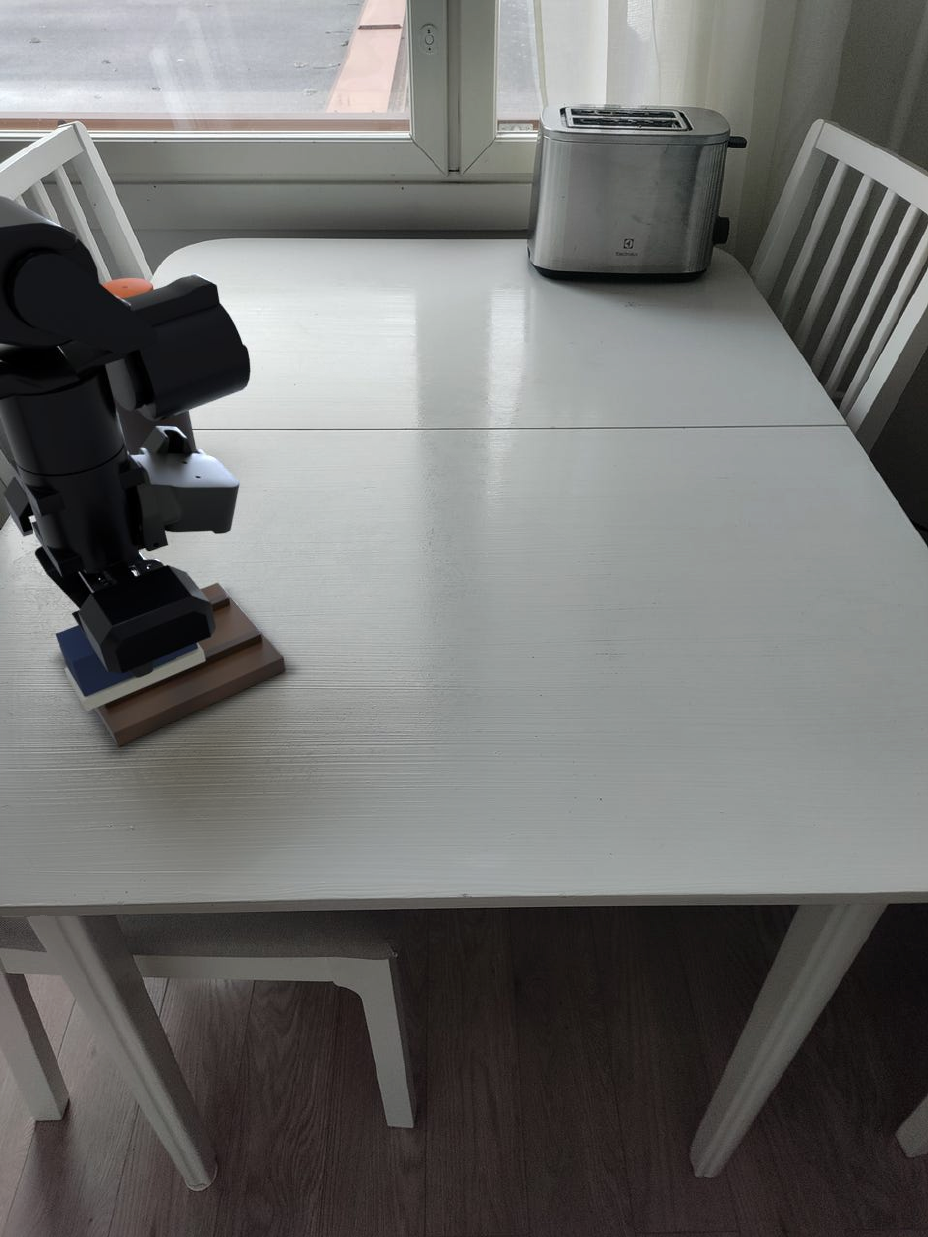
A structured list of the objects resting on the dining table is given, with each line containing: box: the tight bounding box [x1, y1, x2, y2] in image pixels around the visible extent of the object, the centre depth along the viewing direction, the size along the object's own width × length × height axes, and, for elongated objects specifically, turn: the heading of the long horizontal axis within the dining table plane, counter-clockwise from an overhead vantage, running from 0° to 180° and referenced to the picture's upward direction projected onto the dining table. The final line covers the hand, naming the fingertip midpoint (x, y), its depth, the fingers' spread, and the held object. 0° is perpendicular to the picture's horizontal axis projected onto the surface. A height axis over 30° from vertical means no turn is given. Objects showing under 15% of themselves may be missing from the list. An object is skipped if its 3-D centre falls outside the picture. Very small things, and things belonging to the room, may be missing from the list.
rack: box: [58, 581, 287, 747], centre depth 77 cm, size 14×12×2 cm
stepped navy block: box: [55, 624, 206, 712], centre depth 61 cm, size 8×4×4 cm, turn 126°
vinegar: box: [101, 277, 197, 455], centre depth 93 cm, size 7×7×20 cm
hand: (134, 658), depth 62 cm, fingers closed on stepped navy block, 3 cm apart
